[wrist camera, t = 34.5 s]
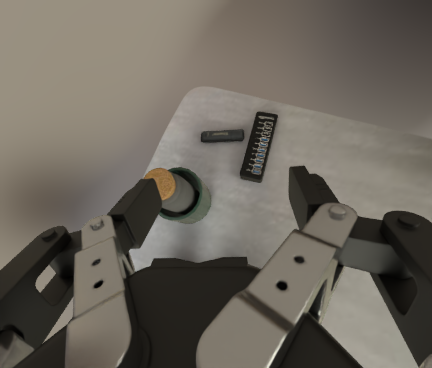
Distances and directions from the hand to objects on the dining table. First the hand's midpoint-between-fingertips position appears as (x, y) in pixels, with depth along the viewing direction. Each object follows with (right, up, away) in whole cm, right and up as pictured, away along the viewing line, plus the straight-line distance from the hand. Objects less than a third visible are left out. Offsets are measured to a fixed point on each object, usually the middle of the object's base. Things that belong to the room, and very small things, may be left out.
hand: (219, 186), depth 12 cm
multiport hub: (+9, +8, +32) cm, 34 cm away
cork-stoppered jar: (-6, -4, +31) cm, 32 cm away
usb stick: (+1, +10, +34) cm, 36 cm away
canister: (-6, -3, +31) cm, 32 cm away
